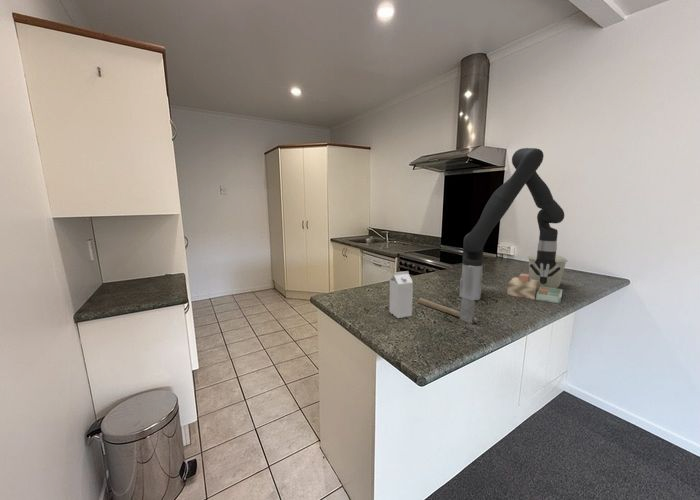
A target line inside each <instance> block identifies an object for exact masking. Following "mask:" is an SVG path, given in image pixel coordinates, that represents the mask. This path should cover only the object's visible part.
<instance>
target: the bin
mask: <svg viewBox="0 0 700 500" xmlns="http://www.w3.org/2000/svg"><path fill="white" fill-rule="evenodd" d="M541 287H542V286H540V287H539V289H538V292H537V294H536V298H535V300H536V301H541V302H548V303H554V304H558V305H561V302H562V301H561V300H562V296H563V289H562V288H561V289H560V288H549V287H544V288H548V295H544V294H540V288H541Z"/></svg>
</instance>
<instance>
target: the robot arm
mask: <svg viewBox="0 0 700 500" xmlns="http://www.w3.org/2000/svg"><path fill="white" fill-rule="evenodd" d="M543 160H544V152H543V151H542V150H541V149H540V148H537V147H536V148H534V147H533V148H532V147H525V148H520V149H517V150H515V152H514V153H513V155H512V157H511V163H512V166H513V168H514V169H515V170H514V172H513V174H512V175H511V176H510V177H509V178H508V179H507V180H506V181H505V182H504V183H503V184H501V185H500V186H499V187H498V188H496V190H495V191H494V192H493V193H492V194H491V196H490V198H489V199H488V201H487V202H486V204H485V206H484V208H483V209H482V213H481V215H480V218H479V219H478V221H477V223H476V224H475V226H474V227H473V228H472V229H471V230H470V232H468V233H467V234H466V235H465V236H464V237H463V247H462V249H463V250H462V267H461V278H460V280H459V298H462V297H464V298H467V299H471V300H474V301H479V300H480V299H482V298H481V296H482V281H483V269H484V268H483V264H484V246H485V244H486V243H487V240H488V238H489V237H490V234H492V231H493V230H494V229H495V227H496V226H497V224H498V223H499V222H500V221H501V220H502V219H503V217H504V216H505V214H506V213H507V212H508V210H509V208H510V207H511V206H512V204H513V203H514V201H515V199H516V198H517V196H518V195H519V194H520V192H521V191H522V189H523V188H524V187H525V185H526V187H527V189H528V190H529V193H530V195H531V197H532V199H533V201H534V203H535V206H536V207H537V208H538V209H540V210H538V212H537V214H536V215H537V216H536V220H537V225H538V230H539V236H538V237H539V238H538V244H537V251H536V254H537V259H536V261H535V263H533V264H530V267H531V268H532V269H533V271H534V272H535V273H536V275H539V276H540V283H541V284H545V283H547V277H551V276H553V275H554V274H555V273H556V272H558V271H559V270H560V269H561V267H559V266H557V265H556V262H555V258H556V255H557V250H558V249H557V248H558V247H557V246H558V242H557V241H558V234H559V233H558V229H556V228H553V227H551V224H560V223H562V222H563V220H564V219H565V211H564V209H563V208H562V207H561V205H560V204H559V203H558V202H557V201H556V200H555V199H554V197H553V195H552V193H551V192H552V191H551V190H550V187H549V186H548V185H547V183H546V182H545V181H544V180H543V179H542V177H541V176H540V175H539V174H538V173H537V170H538V168H540V166H541V165H542V163H543ZM536 265H537V266H538V268H539V269H540V272H539V271H538V270H537V269H536ZM554 266H555V268H554V269H555V270H554V271H552V272H551V273H550V274H548V272H549V270H551V269H552V268H553V267H554ZM544 270H545V275H544Z"/></svg>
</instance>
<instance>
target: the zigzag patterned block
mask: <svg viewBox="0 0 700 500" xmlns="http://www.w3.org/2000/svg"><path fill="white" fill-rule="evenodd" d="M538 289H539V280H531V279H530V278H529V281H528V282H525V281H519V277H516V276H515V277H514V276H513V277H512V278H511V280H510V281H508V283H507V290H506V291H507V293H506V295H507V296H513V297H518V298H524V297H525V299H529V298H530V300H536V294H537V292H538Z"/></svg>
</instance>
